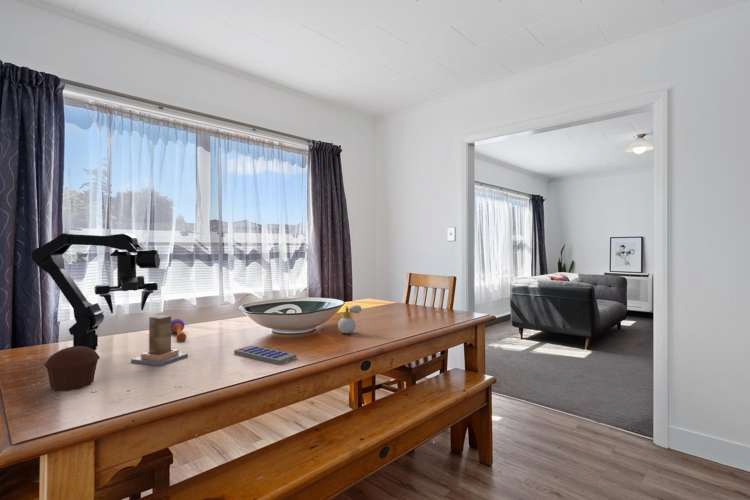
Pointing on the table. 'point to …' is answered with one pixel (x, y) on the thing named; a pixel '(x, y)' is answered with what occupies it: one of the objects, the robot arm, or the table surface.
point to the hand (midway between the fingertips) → (127, 311)
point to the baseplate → (159, 358)
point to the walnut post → (159, 334)
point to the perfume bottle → (348, 320)
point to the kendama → (178, 329)
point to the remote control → (265, 354)
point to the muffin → (72, 368)
